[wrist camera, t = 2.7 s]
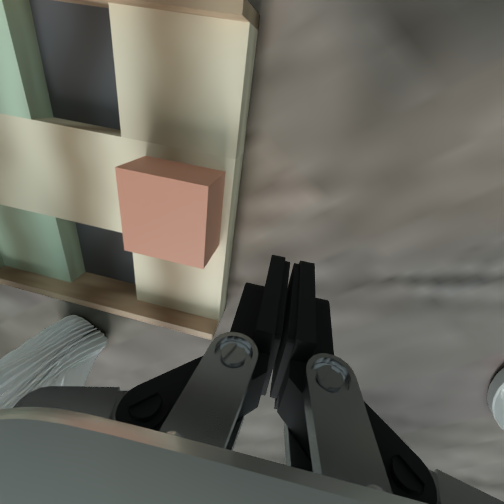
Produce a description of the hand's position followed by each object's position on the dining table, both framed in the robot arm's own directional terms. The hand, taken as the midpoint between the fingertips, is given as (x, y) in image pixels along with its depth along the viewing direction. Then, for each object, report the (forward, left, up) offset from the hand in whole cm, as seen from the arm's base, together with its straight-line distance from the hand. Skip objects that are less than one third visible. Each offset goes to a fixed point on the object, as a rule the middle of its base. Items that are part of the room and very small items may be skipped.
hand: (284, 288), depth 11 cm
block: (+7, 0, -7) cm, 10 cm away
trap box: (+14, 0, -9) cm, 17 cm away
